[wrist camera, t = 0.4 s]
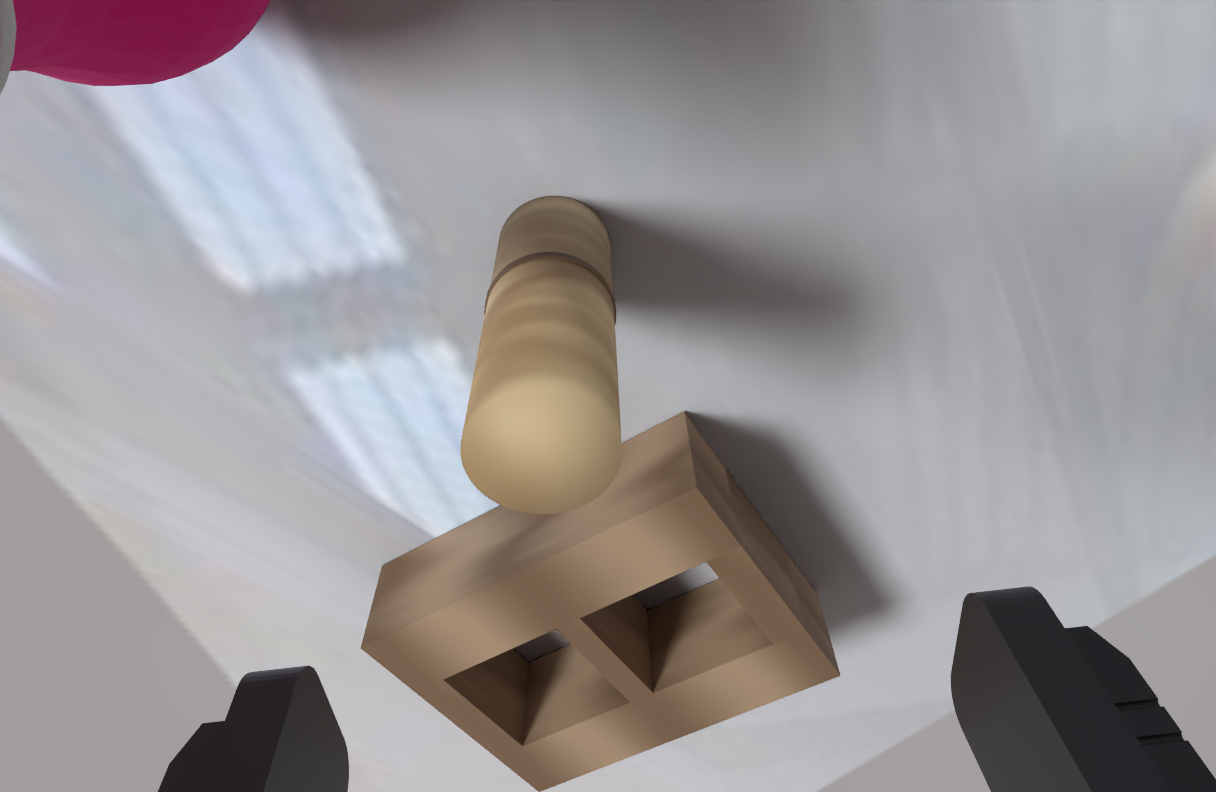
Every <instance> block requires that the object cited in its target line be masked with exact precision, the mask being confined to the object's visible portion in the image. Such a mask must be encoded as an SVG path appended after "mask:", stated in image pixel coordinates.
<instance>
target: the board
mask: <svg viewBox="0 0 1216 792" xmlns="http://www.w3.org/2000/svg"><path fill="white" fill-rule="evenodd" d="M621 446H622V458H621V464H620V468H619V470H618V473H617V475H616V477H615V479H614V481H613V482H612V483H611V485H610V486H609V487H608V489H607V490H606V491H604V492H603V493H602V494H601V495H600V496H599V497H597V498H596V499H595V500H593V501H591V502H590V503H588V504H586V505H584V506H582V507H579V508H577V509H574V510H571V511H567V512H562V513H556V514H531V513H524V512H519V511H516V510H513V509H509V508H507V507H504V506H502V505H500V506H498V507H496V508H494V509H492V510H490V511H488V512H486V513H484V514H482V515H480V516H478V517H476V518H474V519H472V520H471V521H469V522H467V523H465V524H463V525H461V526H459V527H457V528H455V529H453V530H451V531H449V532H447V533H445V534H443V535H441V536H439V537H437V538H435V539H433V540H431V541H429V542H427V543H425V544H423V545H422V546H420V547H418V548H416V549H414V550H412V551H410V552H408V553H406V554H404V555H402V556H400V557H398V558H396V559H394V560H392V561H390V562H388V563H386V564H384V565H382V568H381V572H380V576H379V580H378V584H377V588H376V591H375V595H374V599H373V603H372V607H371V611H370V615H369V618H368V622H367V626H366V630H365V634H364V638H363V642H362V645H361V649H362V650H364V651H365V652H366V653H367V654H369V655H370V656H371V657H372V658H374V659H375V660H376V661H377V662H379V663H380V664H381V665H382V666H384V667H385V668H386V669H387V670H388V671H390V672H391V673H392V674H393V675H395V676H396V677H397V678H398V679H400V680H401V681H402V682H403V683H405V684H406V685H407V686H408V687H410V688H411V689H412V690H413V691H415V692H416V693H417V694H418V695H419V696H421V697H422V698H423V699H424V700H426V701H427V702H428V703H429V704H431V705H432V706H433V707H434V708H436V709H437V710H438V711H439V712H441V713H442V714H443V715H444V716H446V717H447V718H448V719H449V720H450V721H452V722H453V723H454V724H455V725H457V726H458V727H459V728H460V729H462V730H463V731H464V732H465V733H467V734H468V735H469V736H470V737H472V738H473V739H474V740H475V741H477V742H478V743H479V744H480V745H482V746H483V747H484V748H485V749H486V750H488V751H489V752H490V753H491V754H493V755H494V756H495V757H496V758H498V759H499V760H500V761H501V762H503V763H504V764H505V765H506V766H508V767H509V768H510V769H511V770H513V771H514V772H515V773H516V774H517V775H519V776H520V777H521V778H522V779H524V780H525V781H526V782H527V783H529V784H530V785H531V786H532V787H534V788H535V789H536V790H537V791H539V792H540V791H543V790H545V789H548V788H550V787H553V786H556V785H558V784H561V783H563V782H566V781H569V780H571V779H574V778H576V777H579V776H582V775H584V774H587V773H589V772H592V771H594V770H597V769H600V768H602V767H605V766H607V765H610V764H613V763H615V762H618V761H620V760H623V759H626V758H628V757H631V756H633V755H636V754H639V753H641V752H644V751H646V750H649V749H652V748H654V747H657V746H659V745H662V744H664V743H667V742H670V741H672V740H675V739H677V738H680V737H683V736H685V735H688V734H690V733H693V732H696V731H698V730H701V729H703V728H706V727H709V726H711V725H714V724H716V723H719V722H721V721H724V720H727V719H729V718H732V717H734V716H737V715H740V714H742V713H745V712H747V711H750V710H753V709H755V708H758V707H760V706H763V705H766V704H768V703H771V702H773V701H776V700H778V699H781V698H784V697H786V696H789V695H791V694H794V693H797V692H799V691H802V690H804V689H807V688H810V687H812V686H815V685H817V684H820V683H823V682H825V681H828V680H830V679H833V678H835V677H838V676H840V672H839V669H838V665H837V662H836V658H835V655H834V651H833V648H832V644H831V641H830V637H829V634H828V630H827V627H826V624H825V620H824V617H823V613H822V610H821V606H820V603H819V599H818V596H817V593H816V592H815V590H814V589H813V588H812V586H811V585H810V584H809V582H808V581H807V579H806V578H805V577H804V575H803V574H802V572H801V571H800V570H799V568H798V567H797V566H796V564H795V563H794V561H793V560H792V559H791V557H790V556H789V555H788V553H787V552H786V550H785V549H784V548H783V546H782V545H781V544H780V542H779V541H778V539H777V538H776V537H775V535H774V534H773V533H772V531H771V530H770V528H769V527H768V526H767V524H766V523H765V522H764V520H763V519H762V517H761V516H760V515H759V513H758V512H757V511H756V509H755V508H754V506H753V505H752V504H751V502H750V501H749V500H748V498H747V497H746V495H745V494H744V493H743V491H742V490H741V489H740V487H739V486H738V484H737V483H736V482H735V480H734V479H733V478H732V476H731V475H730V473H729V472H728V471H727V469H726V468H725V467H724V465H723V464H722V462H721V461H720V460H719V458H718V457H717V456H716V454H715V453H714V451H713V450H712V449H711V447H710V446H709V444H708V443H707V442H706V440H705V439H704V438H703V436H702V435H701V433H700V432H699V431H698V429H697V428H696V427H695V425H694V424H693V422H692V421H691V420H690V418H689V417H688V416H687V414H686V413H685V411H684V412H682V413H680V414H678V415H676V416H674V417H672V418H670V419H668V420H667V421H665V422H663V423H661V424H659V425H657V426H655V427H653V428H651V429H649V430H647V431H645V432H643V433H641V434H639V435H637V436H635V437H633V438H631V439H629V440H627V441H625V442H623V443H621ZM704 562H707V563H708V564H709V566H710V567H711V568H712V569H713V571H714V572H715V573H716V574H717V576H718V577H719V578H720V579H718V580H715V581H713V582H711V583H708V584H706V585H704V586H702V587H699V588H697V589H695V590H693V591H690V592H688V593H686V594H683V595H681V596H679V597H677V598H674V599H672V600H670V601H668V602H665V603H663V604H661V605H658V606H656V607H654V608H652V609H649V610H646V609H645V608H644V607H643V606H642V605H641V603H640V602H639V601H638V600H637V599H636V598H635V597H634V596H633V594H635V593H637V592H639V591H642V590H644V589H646V588H648V587H651V586H653V585H655V584H657V583H660V582H662V581H664V580H666V579H668V578H671V577H673V576H675V575H677V574H680V573H682V572H684V571H686V570H688V569H691V568H693V567H695V566H697V565H700V564H702V563H704ZM555 629H556V630H557V631H558V632H559V633H560V634H561V635H562V636H563V637H564V638H565V639H566V640H567V641H568V642H569V643H570V645H568V646H565V647H563V648H561V649H559V650H556V651H554V652H552V653H549V654H547V655H545V656H543V657H540V658H538V659H536V660H534V661H531V662H529V663H527V662H526V661H525V660H524V659H523V658H522V657H521V656H520V655H519V654H518V653H517V652H516V651H514V650H513V648H515V647H517V646H519V645H521V644H524V643H526V642H528V641H530V640H533V639H535V638H537V637H539V636H541V635H544V634H546V633H548V632H550V631H553V630H555Z"/></svg>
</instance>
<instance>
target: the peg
mask: <svg viewBox="0 0 1216 792" xmlns="http://www.w3.org/2000/svg"><path fill="white" fill-rule="evenodd" d="M484 314H485V318H484V323H483V329H482V334H481V339H480V344H479V350H478V355H477V360H476V366H475V371H474V376H473V382H472V387H471V392H470V398H469V403H468V408H467V413H466V419H465V424H464V429H463V435H462V440H461V459H462V463H463V467H464V469H465V471H466V474H467V475H468V477H469V478H470V480H471V482H472V483H473V484H474V485H475V486H476V488H477V489H478V490H480V491H481V492H482V493H483V494H484V495H485V496H487V497H488V498H489V499H491V500H493V501H494V502H496V503H498V504H500V505H502V506H504V507H507V508H509V509H513V510H516V511H519V512H524V513H531V514H556V513H562V512H567V511H571V510H574V509H577V508H579V507H582V506H584V505H586V504H588V503H590V502H591V501H593V500H595V499H596V498H597V497H599V496H600V495H601V494H602V493H603V492H604V491H606V490H607V489H608V487H609V486H610V485H611V483H612V482H613V481H614V479H615V477H616V475H617V473H618V470H619V468H620V464H621V458H622V446H621V428H620V409H619V391H618V373H617V355H616V337H615V323H616V306H615V299H614V295H613V282H612V264H611V246H610V239H609V235H608V232H607V229H606V227H605V225H604V223H603V222H602V220H601V219H600V218H599V216H598V215H597V214H596V213H595V212H594V211H593V210H592V209H590V208H589V207H587V206H586V205H584V204H583V203H581V202H579V201H576V200H574V199H570V198H567V197H561V196H546V197H540V198H536V199H533V200H531V201H528V202H526V203H525V204H523V205H521V206H520V207H519V208H517V209H516V210H515V211H514V212H513V213H512V214H511V215H510V216H509V218H508V219H507V220H506V222H505V224H504V226H503V228H502V231H501V234H500V238H499V244H498V249H497V254H496V260H495V265H494V270H493V275H492V281H491V285H490V288H489V290H488V293H487V298H486V302H485V311H484Z"/></svg>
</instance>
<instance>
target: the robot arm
mask: <svg viewBox="0 0 1216 792" xmlns="http://www.w3.org/2000/svg"><path fill="white" fill-rule="evenodd" d="M951 691H952V698H953V703H954V707H955V711H956V714H957V717H958V720H959V723H960V726H961V728H962V730H963V732H964V735H965V737H966V739H967V741H968V743H969V745H970V747H971V750H972V752H973V754H974V756H975V758H976V760H977V762H978V764H979V766H980V769H981V771H982V773H983V775H984V777H985V779H986V782H987V784H988V786H989V788H990V790H991V792H1216V779H1215V778H1214V776H1213V775H1212V774H1211V772H1210V771H1209V770H1208V768H1207V767H1206V765H1205V764H1204V762H1203V761H1202V760H1201V758H1200V757H1199V756H1198V754H1197V753H1196V751H1195V750H1194V748H1193V747H1192V746H1191V744H1190V743H1189V741H1185V740H1184V739H1183V738H1182V735H1181V733H1182V732H1181V730H1180V729H1179V727H1178V726H1177V725H1176V723H1175V722H1174V720H1173V719H1172V718H1171V716H1170V715H1169V713H1168V712H1167V711H1166V709H1165V708H1164V707H1160V706H1159V704H1158V698H1157V697H1156V695H1155V694H1154V692H1153V691H1152V690H1151V688H1150V687H1149V685H1148V684H1147V683H1146V681H1145V680H1144V678H1143V677H1142V676H1141V674H1140V673H1139V671H1138V670H1137V669H1136V667H1135V666H1134V664H1133V663H1132V661H1131V660H1130V659H1129V658H1128V657H1127V656H1126V655H1124V654H1123V653H1121V652H1120V651H1119V650H1118V649H1116V648H1115V647H1114V646H1113V645H1111V644H1110V643H1109V642H1107V641H1106V640H1105V639H1103V638H1102V637H1101V636H1100V635H1098V634H1097V633H1096V632H1094V631H1093V630H1092V629H1091V628H1089V627H1088V626H1083V627H1074V628H1064V627H1063V625H1062V624H1061V622H1060V621H1059V619H1058V618H1057V616H1056V615H1055V613H1054V612H1053V610H1052V609H1051V607H1050V606H1049V604H1048V603H1047V601H1046V599H1045V598H1044V597H1043V595H1042V594H1041V593H1040V592H1039V591H1038V590H1036V589H1035V588H1033V587H1020V588H1011V589H1003V590H994V591H985V592H976V593H969V594H967V596H966V597H965V599H964V602H963V606H962V612H961V618H960V624H959V630H958V636H957V642H956V648H955V654H954V660H953V666H952V671H951ZM348 780H349V762H348V753H347V747H346V743H345V740H344V737H343V735H342V732H341V730H340V728H339V725H338V723H337V720H336V718H335V715H334V713H333V711H332V708H331V706H330V703H329V701H328V698H327V696H326V694H325V691H324V689H323V686H322V684H321V682H320V679H319V677H318V675H317V672H316V671H315V669H314V668H313V667H311V666H302V667H293V668H284V669H275V670H267V671H258V672H250V673H247V674H246V675H245V676H244V677H243V678H242V679H241V681H240V683H239V685H238V687H237V690H236V692H235V695H234V698H233V701H232V703H231V706H230V709H229V711H228V714H227V717H226V720H225V721H221V722H211V723H203V724H202V725H201V726H200V728H198V730H197V731H196V732H195V733H194V735H193V736H192V737H191V738H190V739H189V741H188V742H187V743H186V744H185V746H184V747H183V748H182V749H181V750H180V752H179V753H178V754H177V755H176V757H175V758H174V759H173V760H172V761H171V763H170V764H169V766H168V769H167V771H166V773H165V776H164V778H163V781H162V783H161V786H160V788H159V790H158V792H347V790H348Z"/></svg>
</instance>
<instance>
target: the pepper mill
mask: <svg viewBox="0 0 1216 792" xmlns="http://www.w3.org/2000/svg"><path fill="white" fill-rule="evenodd" d="M269 2H270V0H0V94H1V92H2V90H3V88H4V86H5V83H6V81H7V78H8V75H9V71H21V70H27V71H32V72H36V73H39V74H43V75H46V76H50V77H53V78H57V79H60V80H63V81H67V82H74V83H80V84H86V85H93V86H119V85H138V84H153V83H156V82H160V81H164V80H167V79H171V78H175V77H178V76H182V75H184V74H186V73H188V72H191V71H193V70H195V69H197V68H200V67H202V66H204V65H206V64H208V63H211V62H213V61H214V60H216V59H217V58H219V57H221V56H222V55H224V54H225V53H227V52H229V51H230V50H232V49H233V48H234V47H235V46H236V45H237V44H238V43H239V42H240V41H242V40H243V39H244V38H245V37H246V36H247V35H248V34H249V33H250V32H251V30H252V29H253V27H254V26H255V25H256V23H257V22H258V20H259V19H260V18H261V16H262V15H263V13H264V12H265V10H266V8H267V6H268V4H269Z"/></svg>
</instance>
